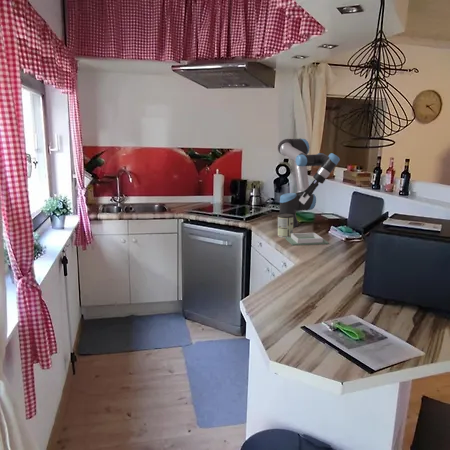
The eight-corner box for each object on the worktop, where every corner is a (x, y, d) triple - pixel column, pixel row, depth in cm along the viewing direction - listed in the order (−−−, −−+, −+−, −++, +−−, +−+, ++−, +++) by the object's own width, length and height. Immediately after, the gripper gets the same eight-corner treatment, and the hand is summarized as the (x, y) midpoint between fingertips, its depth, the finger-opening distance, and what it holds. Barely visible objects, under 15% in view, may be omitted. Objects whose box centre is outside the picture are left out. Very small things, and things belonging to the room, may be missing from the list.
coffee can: (279, 233, 272) (279, 213, 269) (294, 234, 269) (294, 213, 266) (275, 237, 262) (276, 215, 260) (291, 238, 259) (292, 216, 256)
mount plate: (285, 238, 257) (285, 233, 257) (318, 237, 260) (319, 232, 259) (292, 245, 241) (292, 239, 240) (328, 244, 243) (328, 238, 243)
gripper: (325, 176, 248) (304, 204, 251) (326, 181, 272) (307, 207, 275) (315, 169, 250) (294, 197, 253) (317, 175, 274) (298, 200, 277)
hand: (301, 202), depth 264 cm, fingers open, 13 cm apart
